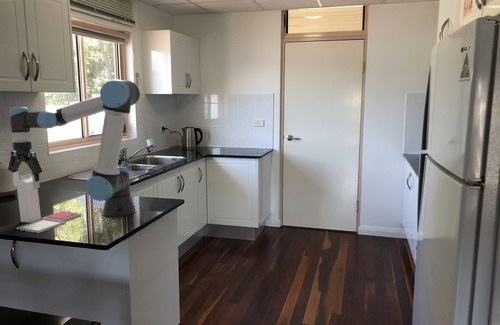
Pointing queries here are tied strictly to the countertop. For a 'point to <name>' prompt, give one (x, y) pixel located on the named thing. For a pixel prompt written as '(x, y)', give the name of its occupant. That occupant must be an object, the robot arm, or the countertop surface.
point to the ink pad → (62, 216)
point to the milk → (28, 199)
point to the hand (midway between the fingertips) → (26, 186)
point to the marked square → (41, 225)
